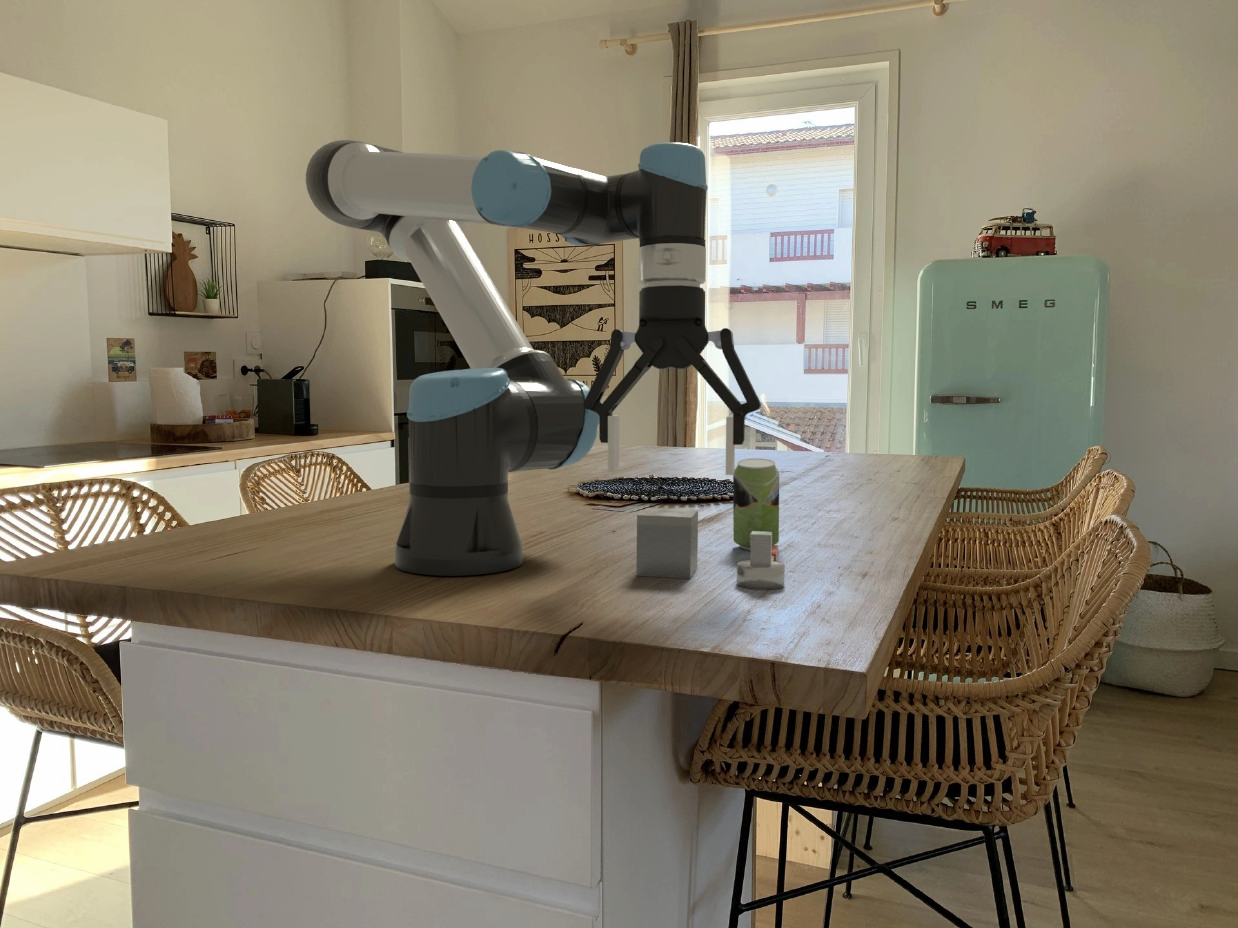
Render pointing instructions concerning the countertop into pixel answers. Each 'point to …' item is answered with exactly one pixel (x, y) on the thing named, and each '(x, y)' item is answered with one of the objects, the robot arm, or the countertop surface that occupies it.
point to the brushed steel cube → (667, 543)
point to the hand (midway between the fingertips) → (671, 473)
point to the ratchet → (761, 564)
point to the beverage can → (755, 500)
